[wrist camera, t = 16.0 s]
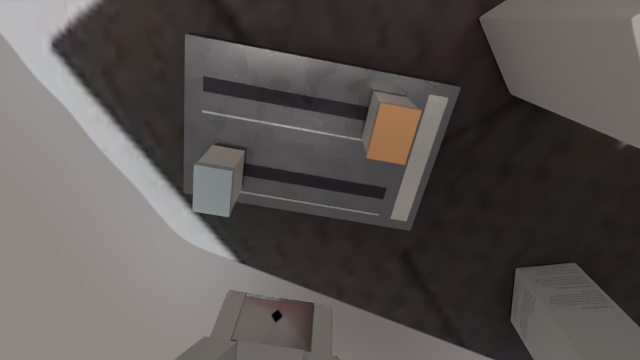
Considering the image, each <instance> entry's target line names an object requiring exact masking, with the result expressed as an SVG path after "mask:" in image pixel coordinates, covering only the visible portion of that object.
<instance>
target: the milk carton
mask: <svg viewBox="0 0 640 360" xmlns="http://www.w3.org/2000/svg"><path fill="white" fill-rule="evenodd" d="M479 20H480V23H481V26H482V28H483V30H484V33H485V35H486V38H487V40H488V42H489V45H490V47H491V50H492V52H493V54H494V57H495V59H496V62H497V64H498V66H499V69H500V71H501V73H502V76H503V78H504V81H505V83H506V85H507V88H508V90H509V92H510V94H512V95H514V96H516V97H518V98H521V99H523V100H526V101H528V102H530V103H533V104H535V105H537V106H540V107H542V108H545V109H547V110H549V111H552V112H554V113H556V114H559V115H561V116H564V117H566V118H568V119H571V120H573V121H576V122H578V123H580V124H583V125H585V126H587V127H590V128H592V129H595V130H597V131H599V132H602V133H604V134H606V135H609V136H611V137H614V138H616V139H618V140H621V141H623V142H625V143H628V144H630V145H633V146H635V147H637V148H640V0H506V1H504V2H502V3H501V4H499V5H498V6H496V7H495V8H493V9H492V10H490V11H488V12H487V13H485V14H484V15H482V16H481V17H480V18H479Z"/></svg>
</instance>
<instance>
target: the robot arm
mask: <svg viewBox="0 0 640 360" xmlns="http://www.w3.org/2000/svg"><path fill="white" fill-rule="evenodd" d="M174 360H339V359H338V357H337V356H334V355H332V307H331V305H324V304H317V303H310V302H303V301H295V300H289V299H282V298H274V297H268V296H263V295H257V294H252V293H244V292H238V291H233V290H229V292H228V293H227V294H226V297H225V300H224V302H223V305H222V307H221V310H220V312H219V315H218V317H217V320H216V323H215V326H214V328H213V330H212V333H211V336H210V337H203V338H202V339H201V340H199V341H198V342H197V343H195V344H194V345H193V346H191V347H190V348H189V349H187V350H186V351H185V352H184V353H182V354H181V355H180V356H178V357H177V358H176V359H174Z"/></svg>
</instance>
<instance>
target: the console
mask: <svg viewBox="0 0 640 360" xmlns="http://www.w3.org/2000/svg"><path fill="white" fill-rule="evenodd" d="M460 88H461V87H460V86H458V85H456V84H453V83H447V82H442V81H437V80H432V79H427V78H422V77H416V76H411V75H406V74H401V73H396V72H391V71H385V70H380V69H375V68H370V67H365V66H360V65H354V64H349V63H344V62H339V61H334V60H329V59H323V58H318V57H313V56H308V55H303V54H298V53H292V52H287V51H282V50H277V49H272V48H267V47H261V46H256V45H251V44H246V43H241V42H235V41H230V40H225V39H220V38H215V37H210V36H204V35H199V34H194V33H189V34H185V98H184V193H185V194H191V195H193V175H194V164H195V163H196V162H198V161H199V160H200V159H201V157H202V156H203V155H204V154H205V153H206V152H207V151H208V150H209V149H210V147H211V146H212V145H215V146H221V147H227V148H233V149H238V150H244V151H245V155H244V166H243V177H242V188H241V192H240V194H239V196H238V198H237V200H236V202H240V203H246V204H252V205H258V206H264V207H270V208H276V209H282V210H288V211H294V212H300V213H306V214H312V215H318V216H324V217H330V218H336V219H342V220H348V221H354V222H360V223H366V224H372V225H378V226H384V227H390V228H396V229H402V230H408V231H410V230H411V228H412V225H413V222H414V219H415V216H416V213H417V211H418V208H419V205H420V202H421V199H422V196H423V193H424V191H425V188H426V185H427V182H428V179H429V176H430V174H431V171H432V168H433V165H434V162H435V159H436V157H437V154H438V151H439V148H440V145H441V142H442V140H443V137H444V134H445V131H446V128H447V125H448V123H449V120H450V117H451V114H452V111H453V108H454V106H455V103H456V100H457V97H458V94H459V91H460ZM373 91H376V92H381V93H387V94H392V95H397V96H403V97H407V98H408V99H409V100H410V101H411V102H412V103H413V104H414V105H415V106H416V107H417V108H419V109H421V110H422V112H421V115H420V118H419V121H418V125H417V128H416V131H415V134H414V137H413V141H412V144H411V147H410V150H409V153H408V157H407V160H406V163H405V165H403V164H397V163H391V162H386V161H380V160H374V159H369V158H366V151H365V148H364V144H363V141H362V135H363V131H364V127H365V123H366V118H367V114H368V110H369V106H370V102H371V98H372V94H373Z"/></svg>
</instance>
